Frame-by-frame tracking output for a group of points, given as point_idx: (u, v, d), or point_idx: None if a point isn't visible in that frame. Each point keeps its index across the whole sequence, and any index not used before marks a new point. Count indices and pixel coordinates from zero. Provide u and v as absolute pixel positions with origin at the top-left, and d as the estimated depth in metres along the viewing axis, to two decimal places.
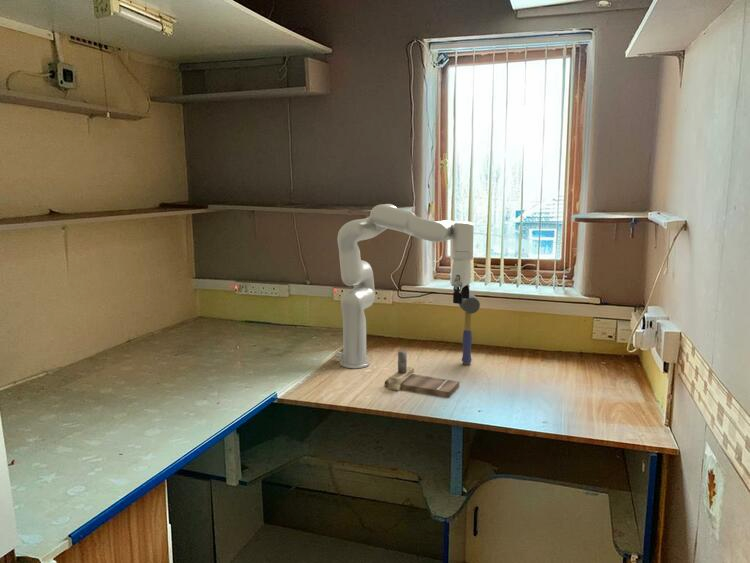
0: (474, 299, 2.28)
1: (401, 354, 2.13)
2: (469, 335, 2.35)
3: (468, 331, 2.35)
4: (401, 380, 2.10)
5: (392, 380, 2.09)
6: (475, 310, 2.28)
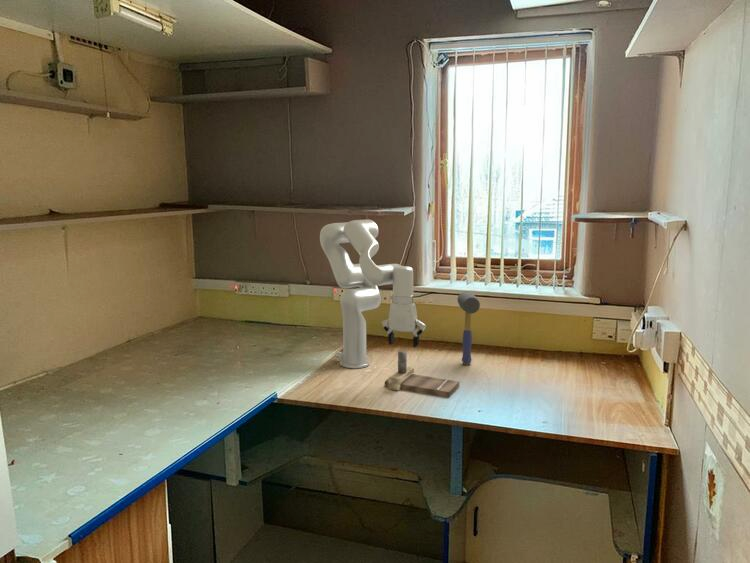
0: (474, 299, 2.28)
1: (401, 354, 2.13)
2: (469, 335, 2.35)
3: (468, 331, 2.35)
4: (401, 380, 2.10)
5: (392, 380, 2.09)
6: (475, 310, 2.28)
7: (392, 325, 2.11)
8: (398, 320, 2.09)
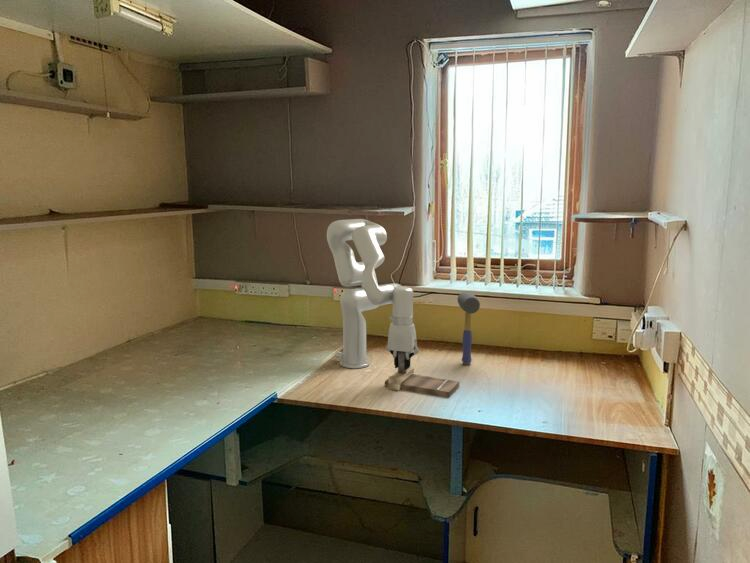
0: (474, 299, 2.28)
1: (401, 354, 2.13)
2: (469, 335, 2.35)
3: (468, 331, 2.35)
4: (401, 380, 2.10)
5: (392, 380, 2.09)
6: (475, 310, 2.28)
7: (391, 345, 2.12)
8: (397, 340, 2.11)
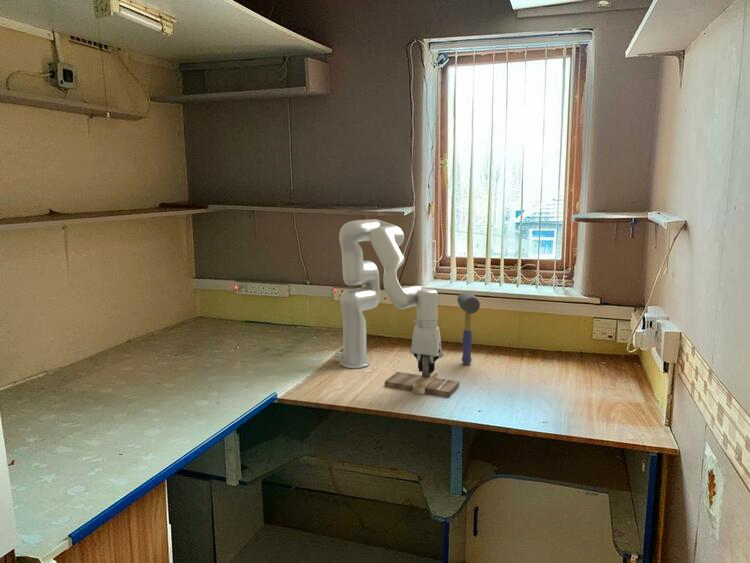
0: (474, 299, 2.28)
1: (425, 357, 2.09)
2: (469, 335, 2.35)
3: (468, 331, 2.35)
4: (426, 384, 2.06)
5: (417, 384, 2.05)
6: (475, 310, 2.28)
7: (415, 348, 2.08)
8: (422, 343, 2.07)
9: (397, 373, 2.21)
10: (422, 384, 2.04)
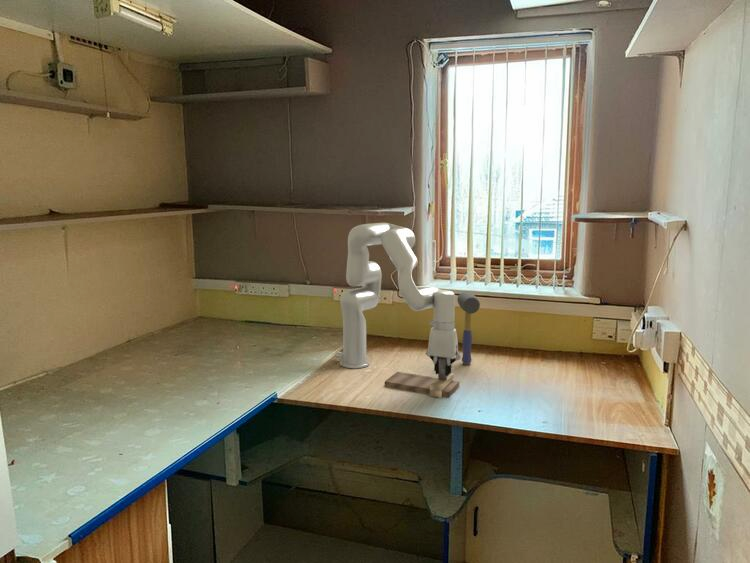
0: (474, 299, 2.28)
1: (442, 360, 2.06)
2: (469, 335, 2.35)
3: (468, 331, 2.35)
4: (442, 387, 2.03)
5: (433, 387, 2.02)
6: (475, 310, 2.28)
7: (432, 350, 2.06)
8: (438, 346, 2.04)
9: (397, 373, 2.21)
10: (439, 387, 2.01)
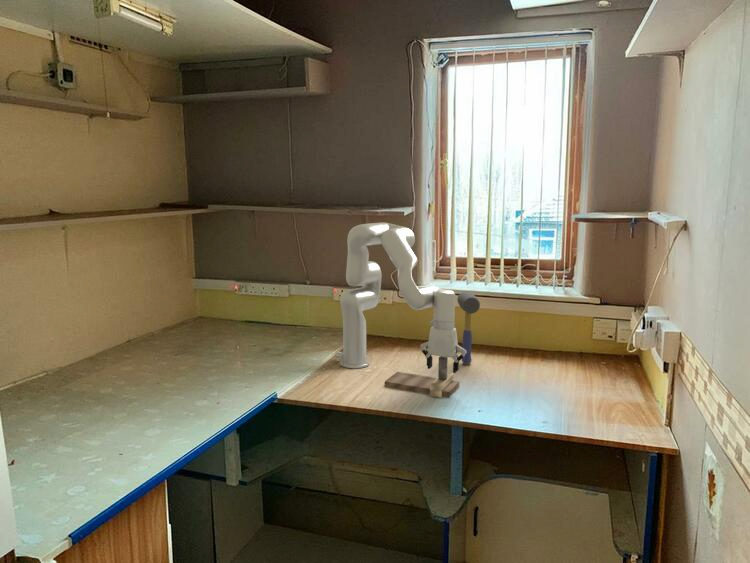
0: (474, 299, 2.28)
1: (442, 360, 2.06)
2: (469, 335, 2.35)
3: (468, 331, 2.35)
4: (443, 387, 2.03)
5: (434, 387, 2.02)
6: (475, 310, 2.28)
7: (432, 349, 2.06)
8: (438, 345, 2.04)
9: (397, 373, 2.21)
10: (439, 387, 2.01)
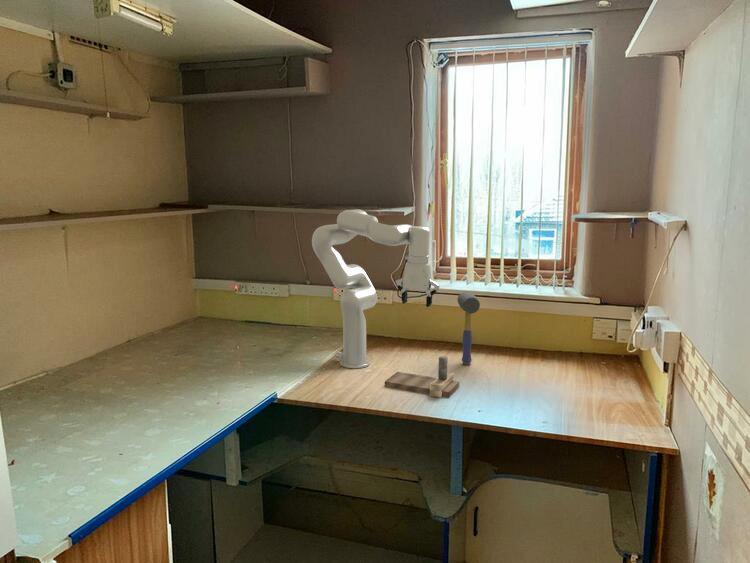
0: (474, 299, 2.28)
1: (442, 360, 2.06)
2: (469, 335, 2.35)
3: (468, 331, 2.35)
4: (443, 387, 2.03)
5: (434, 387, 2.02)
6: (475, 310, 2.28)
7: (406, 284, 2.14)
8: (412, 279, 2.13)
9: (397, 373, 2.21)
10: (439, 387, 2.01)
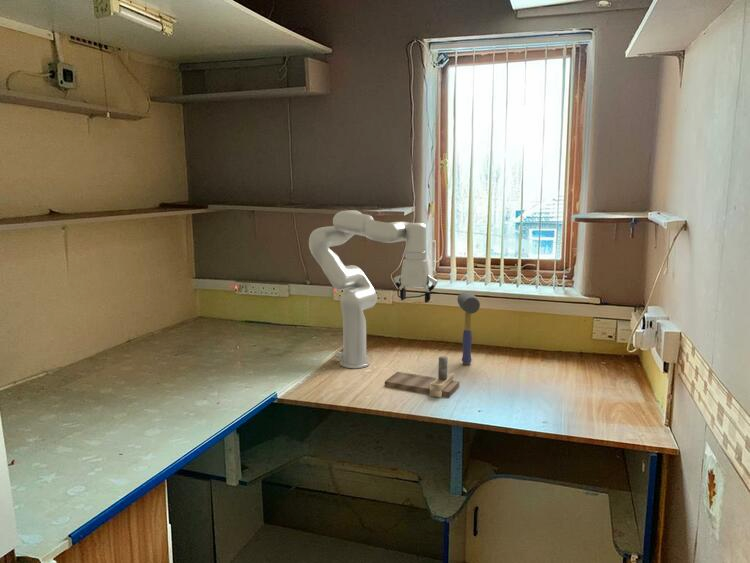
0: (474, 299, 2.28)
1: (442, 360, 2.06)
2: (469, 335, 2.35)
3: (468, 331, 2.35)
4: (443, 387, 2.03)
5: (434, 387, 2.02)
6: (475, 310, 2.28)
7: (404, 281, 2.15)
8: (410, 276, 2.14)
9: (397, 373, 2.21)
10: (439, 387, 2.01)
